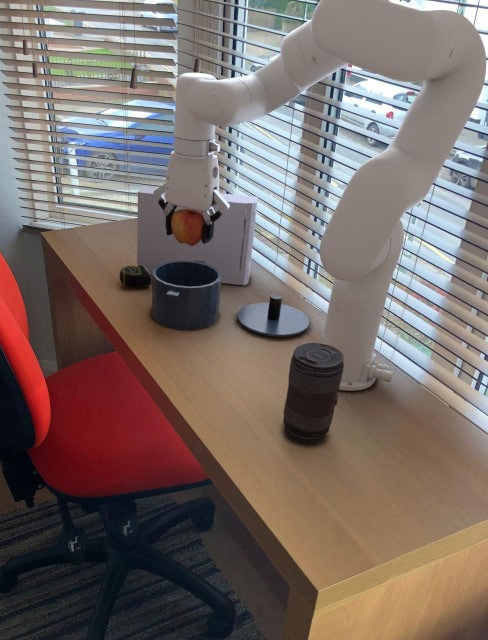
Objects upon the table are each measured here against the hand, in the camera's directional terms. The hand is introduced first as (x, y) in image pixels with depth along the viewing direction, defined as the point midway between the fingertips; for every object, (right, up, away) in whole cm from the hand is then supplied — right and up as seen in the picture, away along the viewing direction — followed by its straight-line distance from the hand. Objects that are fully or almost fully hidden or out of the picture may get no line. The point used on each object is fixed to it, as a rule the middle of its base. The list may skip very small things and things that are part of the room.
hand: (188, 237), depth 132 cm
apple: (0, -1, +1) cm, 2 cm away
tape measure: (-12, -6, +22) cm, 26 cm away
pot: (-1, -15, +10) cm, 17 cm away
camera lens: (+19, -39, -24) cm, 50 cm away
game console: (+1, -3, +28) cm, 28 cm away
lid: (+18, -16, +8) cm, 26 cm away
